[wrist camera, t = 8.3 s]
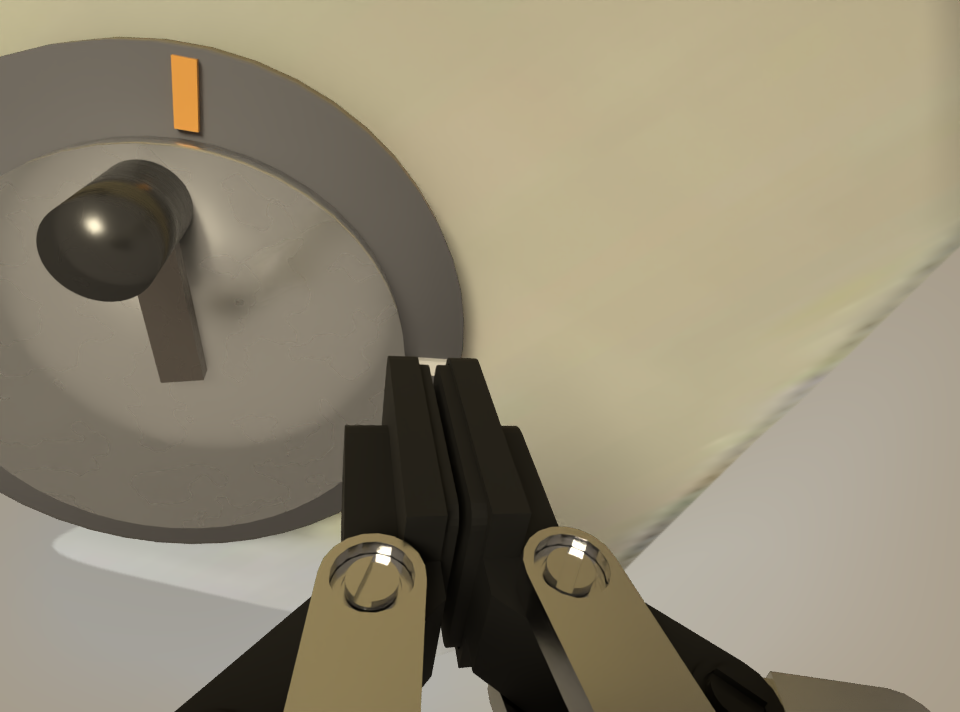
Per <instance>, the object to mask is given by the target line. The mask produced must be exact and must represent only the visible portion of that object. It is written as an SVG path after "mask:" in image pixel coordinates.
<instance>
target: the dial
mask: <svg viewBox="0 0 960 712" xmlns="http://www.w3.org/2000/svg"><path fill="white" fill-rule="evenodd" d="M388 356H405V353H404V342H403V333H402V328H401V323H400V318H399V314H398V310H397V306H396V302H395V298H394V295H393V292H392V290H391V287H390V285H389V283H388V280H387V278H386V275H385V273H384V271H383V269H382V268H381V266H380V264H379V262H378V261H377V259H376V257H375V255H374V254H373V252H372V250H371V249H370V248H369V246H368V245H367V244H366V242H365V241H364V240H363V238H362V237H361V236H360V235H359V233H358V232H357V231H356V229H355V228H354V227H353V226H352V225H351V224H350V223H349V222H348V221H347V220H346V219H345V218H344V217H343V216H342V215H341V214H340V213H339V212H338V211H337V210H336V209H335V208H334V207H333V206H332V205H330V204H329V203H328V202H327V201H325V200H324V199H323V198H322V197H320V196H319V195H318V194H316V193H315V192H314V191H313V190H311V189H310V188H309V187H307V186H306V185H304V184H302V183H301V182H299V181H297V180H296V179H294V178H292V177H291V176H289V175H287V174H286V173H284V172H283V171H281V170H279V169H277V168H274V167H272V166H270V165H268V164H266V163H264V162H261V161H259V160H257V159H255V158H253V157H250V156H248V155H245V154H242V153H238V152H235V151H232V150H229V149H226V148H223V147H220V146H217V145H212V144H207V143H202V142H197V141H192V140H187V139H182V138H171V137H158V136H125V137H108V138H103V139H97V140H92V141H86V142H81V143H76V144H72V145H69V146H66V147H63V148H60V149H57V150H54V151H51V152H48V153H45V154H42V155H40V156H39V157H37V158H35V159H33V160H31V161H29V162H27V163H25V164H23V165H21V166H19V167H17V168H15V169H13V170H11V171H9V172H7V173H6V174H4V175H2V176H0V466H2V467H3V468H4V469H5V470H7V471H8V472H9V473H11V474H12V475H14V476H16V477H17V478H19V479H20V480H22V481H24V482H25V483H27V484H28V485H30V486H32V487H33V488H35V489H37V490H39V491H41V492H43V493H45V494H47V495H49V496H51V497H53V498H55V499H57V500H59V501H61V502H64V503H66V504H69V505H72V506H74V507H77V508H79V509H82V510H85V511H87V512H90V513H94V514H97V515H101V516H104V517H108V518H111V519H115V520H120V521H125V522H130V523H135V524H140V525H147V526H157V527H167V528H211V527H224V526H231V525H237V524H243V523H249V522H253V521H257V520H261V519H265V518H269V517H273V516H275V515H278V514H281V513H284V512H287V511H289V510H292V509H295V508H297V507H299V506H301V505H303V504H305V503H307V502H310V501H312V500H314V499H316V498H317V497H319V496H321V495H322V494H324V493H325V492H327V491H329V490H330V489H332V488H334V487H335V486H336V485H338V484H339V483H340V482H342V474H343V449H344V429H345V425H382V413H383V401H384V389H385V377H386V366H387V358H388Z"/></svg>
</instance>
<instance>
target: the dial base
mask: <svg viewBox="0 0 960 712" xmlns="http://www.w3.org/2000/svg"><path fill="white" fill-rule="evenodd" d="M125 136H158V137H171V138H182V139H187V140H192V141H197V142H202V143H207V144H212V145H217V146H220V147H223V148H226V149H229V150H232V151H235V152H238V153H242V154H245V155H248V156H250V157H253V158H255V159H257V160H259V161H261V162H264V163H266V164H268V165H270V166H272V167H274V168H277V169H279V170H281V171H283V172H284V173H286V174H287V175H289V176H291V177H292V178H294V179H296V180H297V181H299V182H301V183H302V184H304V185H306V186H307V187H309V188H310V189H311V190H313V191H314V192H315V193H316V194H318V195H319V196H320V197H322V198H323V199H324V200H325V201H327V202H328V203H329V204H330V205H332V206H333V207H334V208H335V209H336V210H337V211H338V212H339V213H340V214H341V215H342V216H343V217H344V218H345V219H346V220H347V221H348V222H349V223H350V224H351V225H352V226H353V227H354V228H355V229H356V231H357V232H358V233H359V235H360V236H361V237H362V238H363V240H364V241H365V242H366V244H367V245H368V246H369V248H370V249H371V250H372V252H373V254H374V255H375V257H376V259H377V261H378V262H379V264H380V266H381V268H382V269H383V271H384V273H385V275H386V278H387V280H388V283H389V285H390V287H391V290H392V292H393V295H394V298H395V302H396V306H397V310H398V314H399V318H400V323H401V328H402V333H403V342H404V353H405V356H412V357H418V360H419V364H424V365H429V367H430V372H431V376H432V381H433V383H434V375H435V369H436V366H437V365H446V361H447V359H448V358H461V355H462V350H463V328H464V317H463V308H462V298H461V289H460V285H459V282H458V278H457V274H456V270H455V266H454V262H453V258H452V256H451V254H450V251H449V249H448V246H447V244H446V241H445V239H444V236H443V234H442V232H441V229H440V227H439V225H438V222H437V220H436V218H435V216H434V214H433V212H432V210H431V209H430V207H429V205H428V204H427V202H426V200H425V198H424V197H423V195H422V193H421V191H420V190H419V188H418V186H417V184H416V183H415V182H414V180H413V179H412V178H411V177H410V175H409V174H408V173H407V171H406V170H405V169H404V167H403V166H402V165H401V163H400V162H399V161H398V160H397V158H396V157H395V156H394V154H393V153H392V152H391V151H390V150H389V149H388V148H387V147H386V146H385V145H384V144H383V143H382V142H381V141H380V140H379V139H378V138H377V137H376V136H375V135H374V134H373V133H372V132H371V131H370V130H369V129H368V128H367V127H366V126H364V125H363V124H362V123H361V122H359V121H358V120H357V119H355V118H354V117H353V116H352V115H350V114H349V113H348V112H347V111H345V110H344V109H343V108H341V107H340V106H339V105H338V104H336V103H335V102H334V101H332V100H330V99H329V98H327V97H326V96H324V95H322V94H321V93H319V92H317V91H316V90H314V89H312V88H311V87H309V86H307V85H306V84H304V83H302V82H301V81H299V80H297V79H295V78H293V77H291V76H289V75H286V74H284V73H282V72H280V71H278V70H275V69H273V68H271V67H269V66H267V65H264V64H262V63H260V62H258V61H255V60H252V59H249V58H245V57H242V56H239V55H236V54H233V53H229V52H226V51H223V50H220V49H216V48H213V47H208V46H203V45H197V44H191V43H186V42H180V41H174V40H169V39H155V38H132V37H112V38H102V39H91V40H81V41H71V42H64V43H57V44H50V45H45V46H41V47H37V48H33V49H29V50H25V51H21V52H17V53H13V54H9V55H5V56H1V57H0V176H2V175H4V174H6V173H7V172H9V171H11V170H13V169H15V168H17V167H19V166H21V165H23V164H25V163H27V162H29V161H31V160H33V159H35V158H37V157H39V156H40V155H42V154H45V153H48V152H51V151H54V150H57V149H60V148H63V147H66V146H69V145H72V144H76V143H81V142H86V141H92V140H97V139H103V138H108V137H125ZM0 493H3V494H4V495H6V496H8V497H10V498H12V499H13V500H15V501H17V502H19V503H21V504H23V505H25V506H28V507H30V508H32V509H35V510H37V511H39V512H42V513H44V514H46V515H49V516H51V517H54V518H56V519H59V520H62V521H65V522H68V523H71V524H74V525H78V526H81V527H84V528H87V529H90V530H94V531H98V532H103V533H107V534H112V535H116V536H121V537H125V538H132V539H139V540H147V541H154V542H166V543H184V544H202V543H226V542H234V541H243V540H251V539H257V538H262V537H266V536H271V535H276V534H281V533H285V532H288V531H291V530H294V529H298V528H301V527H304V526H307V525H310V524H313V523H315V522H318V521H320V520H323V519H325V518H327V517H330V516H332V515H334V514H337V513H339V512H341V511H342V482H340V483H339V484H338V485H336V486H335V487H334V488H332V489H330V490H329V491H327V492H325V493H324V494H322V495H321V496H319V497H317V498H316V499H314V500H312V501H310V502H307V503H305V504H303V505H301V506H299V507H297V508H295V509H292V510H289V511H287V512H284V513H281V514H278V515H275V516H273V517H269V518H265V519H261V520H257V521H253V522H249V523H243V524H237V525H231V526H224V527H211V528H167V527H157V526H147V525H140V524H135V523H130V522H125V521H120V520H115V519H111V518H108V517H104V516H101V515H97V514H94V513H90V512H87V511H85V510H82V509H79V508H77V507H74V506H72V505H69V504H66V503H64V502H61V501H59V500H57V499H55V498H53V497H51V496H49V495H47V494H45V493H43V492H41V491H39V490H37V489H35V488H33V487H32V486H30V485H28V484H27V483H25V482H24V481H22V480H20V479H19V478H17V477H16V476H14V475H12V474H11V473H9V472H8V471H7V470H5V469H4V468H3V467H2V466H0Z"/></svg>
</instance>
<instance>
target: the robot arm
mask: <svg viewBox="0 0 960 712" xmlns="http://www.w3.org/2000/svg"><path fill="white" fill-rule="evenodd" d="M440 628H441V630H442V637H443V643H444V646H445V647H446V648H449V647H455V649H456V655H457V662H458V667H459V668H464V667H472V671H473V673H475V674H476V675H477V676H479V677H480V678H481V679H482V680H484V681H485V682H486V683H488V694H489V700H490V704H491V707H492V710H493V712H930V711H929V710H928V709H927V708H925V707H924V706H923V705H922V704H920V703H919V702H917V701H915V700H914V699H912V698H910V697H909V696H907V695H905V694H904V693H900V692H897V691H894V690H891V689H888V688H882V687H875V686H868V685H861V684H855V683H848V682H840V681H834V680H827V679H820V678H813V677H807V676H800V675H793V674H786V673H779V672H772V671H770V672H769V674H768V675H767V677H766V678H763V677H761V676H760V674H758V673H757V672H756V671H754V670H753V669H752V668H750V667H749V666H748V665H746V664H745V663H744V662H742V661H741V660H739V659H737V658H736V657H734V656H732V655H731V654H729V653H727V652H726V651H724V650H722V649H721V648H719V647H717V646H716V645H714V644H712V643H710V642H709V641H708V640H706V639H704V638H703V637H701V636H699V635H698V634H696V633H694V632H692V631H691V630H689V629H688V628H686V627H684V626H683V625H681V624H679V623H678V622H676V621H674V620H673V619H671V618H669V617H668V616H666V615H665V614H663V613H661V612H660V611H658V610H656V609H655V608H653V607H651V606H650V605H648V604H646V603H645V602H644V601H643V599H642V597H641V596H640V594H639V593H638V591H637V590H636V588H635V587H634V585H633V584H632V582H631V580H630V579H629V578H628V576H627V574H626V573H625V571H624V570H623V568H622V567H621V565H620V564H619V562H618V560H617V559H616V557H615V556H614V555H613V553H612V552H611V551H610V550H609V549H608V548H607V546H606V545H605V544H603V543H602V542H601V541H599V540H598V539H597V538H595V537H594V536H592V535H590V534H588V533H586V532H584V531H581V530H579V529H574V528H570V527H565V526H564V527H558V524H557V521H556V519H555V516H554V514H553V511H552V509H551V506H550V504H549V501H548V498H547V496H546V493H545V491H544V488H543V486H542V483H541V481H540V478H539V475H538V473H537V470H536V468H535V465H534V463H533V460H532V458H531V455H530V453H529V450H528V447H527V445H526V442H525V440H524V437H523V435H522V432H521V431H520V429H519V428H518V427H517V426H501V424H500V421H499V419H498V416H497V413H496V410H495V407H494V404H493V401H492V399H491V396H490V393H489V390H488V387H487V384H486V381H485V379H484V376H483V373H482V370H481V367H480V364H479V362H478V360H477V359H471V358H448V359H447V361H446V365H437V366H436V369H435V375H434V383H433V381H432V376H431V372H430V367H429V365H424V364H419V360H418V357H412V356H388V358H387V366H386V377H385V389H384V401H383V413H382V425H345V429H344V449H343V474H342V516H341V543H339V544H337V545H336V546H334V547H333V548H332V549H331V550H330V551H329V552H328V553H327V555H326V556H325V557H324V558H323V560H322V562H321V565H320V567H319V569H318V571H317V576H316V580H315V584H314V588H313V592H312V596H311V597H310V598H309V599H308V600H306V601H305V602H304V603H303V604H302V605H301V606H299V607H298V608H297V609H296V610H295V611H293V612H292V613H291V614H290V615H289V616H288V617H286V618H285V619H284V620H283V621H282V622H280V623H279V624H278V625H277V626H276V627H275V628H273V629H272V630H271V631H270V632H269V633H267V634H266V635H265V636H264V637H263V638H261V639H260V640H259V641H258V642H257V643H256V644H254V645H253V646H252V647H251V648H250V649H249V650H247V651H246V652H245V653H244V654H243V655H241V656H240V657H239V658H238V659H237V660H235V661H234V662H233V663H232V664H231V665H230V666H228V667H227V668H226V669H225V670H224V671H222V672H221V673H220V674H219V675H218V676H217V677H215V678H214V679H213V680H212V681H211V682H209V683H208V684H207V685H206V686H205V687H203V688H202V689H201V690H200V691H199V692H198V693H196V694H195V695H194V696H193V697H192V698H190V699H189V700H188V701H187V702H186V703H184V704H183V705H182V706H181V707H180V708H179V709H177V710H176V711H175V712H421V692H422V687H423V686H424V684H425V683H426V682H427V681H428V680H429V678H430V677H431V675H432V670H433V665H434V660H435V654H436V649H437V644H438V638H439V633H440Z"/></svg>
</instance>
